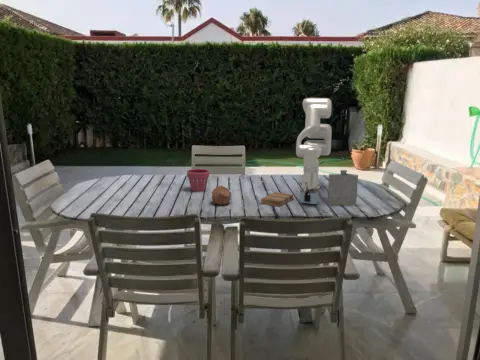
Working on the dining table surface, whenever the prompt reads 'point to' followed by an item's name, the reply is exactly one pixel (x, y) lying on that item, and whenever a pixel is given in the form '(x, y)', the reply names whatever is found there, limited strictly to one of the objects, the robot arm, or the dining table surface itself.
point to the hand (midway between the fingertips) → (309, 199)
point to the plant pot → (198, 179)
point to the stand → (277, 199)
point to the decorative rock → (221, 195)
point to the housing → (312, 196)
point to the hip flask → (342, 188)
